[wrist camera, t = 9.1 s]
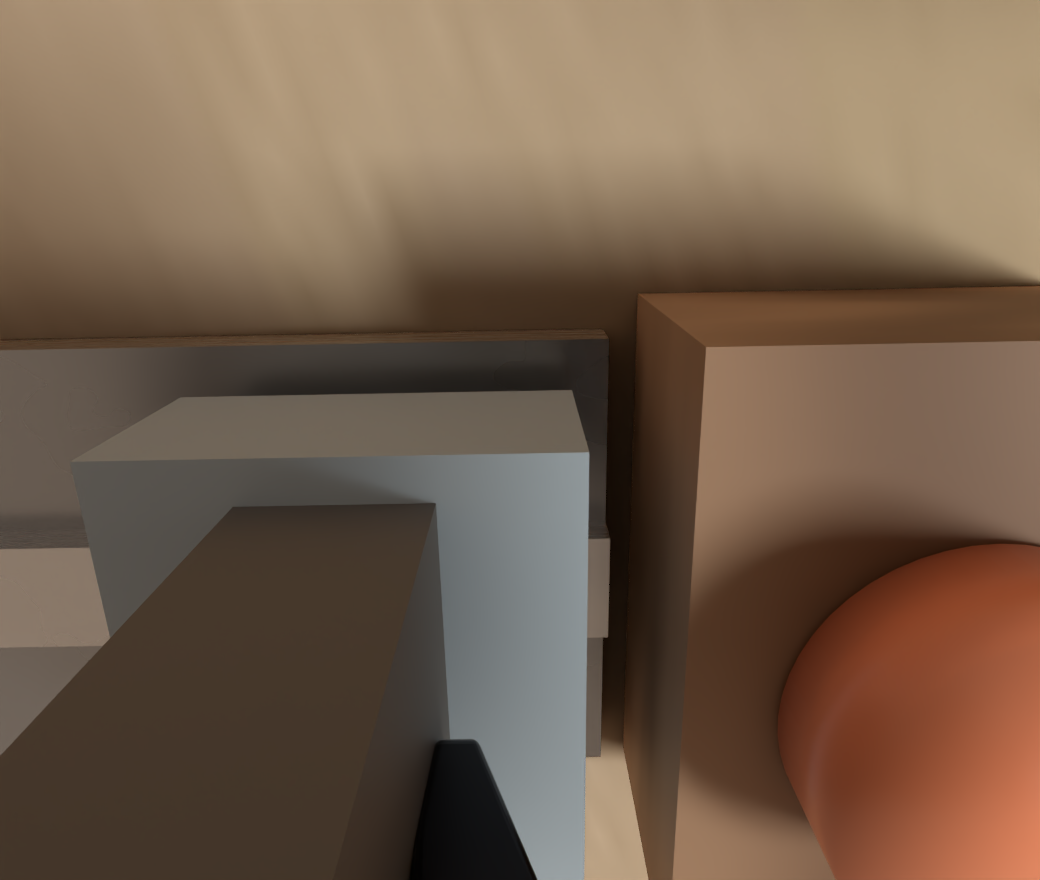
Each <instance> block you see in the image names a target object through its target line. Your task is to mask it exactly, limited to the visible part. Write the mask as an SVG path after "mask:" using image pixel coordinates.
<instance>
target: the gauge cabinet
mask: <svg viewBox="0 0 1040 880" xmlns="http://www.w3.org/2000/svg"><path fill="white" fill-rule="evenodd" d="M989 544H1019V545H1030V546H1036V547H1040V286H1013V287H960V288H908V289H856V290H804V291H751V292H699V293H647V294H638V304H637V335H636V366H635V397H634V428H633V459H632V490H631V520H630V551H629V582H628V613H627V644H626V675H625V706H624V737H623V748H624V753H625V758H626V763H627V769H628V774H629V779H630V784H631V790H632V795H633V800H634V805H635V810H636V816H637V821H638V826H639V831H640V837H641V842H642V847H643V852H644V858H645V863H646V868H647V873H648V878H649V880H836V879H835V877H834V875H833V873H832V871H831V868H830V866H829V864H828V862H827V860H826V858H825V856H824V853H823V851H822V849H821V847H820V845H819V843H818V841H817V838H816V836H815V834H814V832H813V830H812V828H811V826H810V823H809V821H808V819H807V817H806V815H805V813H804V811H803V808H802V806H801V804H800V802H799V800H798V798H797V796H796V793H795V791H794V789H793V787H792V785H791V783H790V781H789V778H788V776H787V774H786V772H785V769H784V766H783V762H782V759H781V756H780V751H779V743H778V735H777V733H778V713H779V708H780V702H781V697H782V693H783V690H784V687H785V685H786V682H787V679H788V676H789V673H790V671H791V670H792V668H793V666H794V664H795V662H796V660H797V658H798V656H799V654H800V652H801V651H802V650H803V648H804V647H805V645H806V644H807V642H808V641H809V639H810V638H811V637H812V635H813V634H814V633H815V632H816V630H817V629H818V628H819V627H820V626H821V625H822V624H823V623H824V621H825V620H826V619H827V618H828V617H829V616H830V615H831V614H832V613H833V612H834V611H835V610H836V609H838V608H839V607H840V606H841V605H842V604H843V603H844V602H845V601H847V600H848V599H849V598H850V597H852V596H853V595H854V594H856V593H857V592H859V591H860V590H861V589H863V588H864V587H866V586H867V585H868V584H870V583H871V582H873V581H875V580H877V579H879V578H880V577H882V576H884V575H886V574H888V573H889V572H891V571H893V570H895V569H897V568H900V567H902V566H904V565H907V564H909V563H911V562H914V561H916V560H918V559H921V558H924V557H928V556H931V555H934V554H937V553H941V552H944V551H948V550H953V549H958V548H964V547H969V546H976V545H989Z"/></svg>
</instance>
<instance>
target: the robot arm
mask: <svg viewBox="0 0 1040 880" xmlns="http://www.w3.org/2000/svg"><path fill="white" fill-rule="evenodd" d="M412 880H538V879H537V877H536V875H535V872H534V870H533V868H532V865H531V863H530V861H529V858H528V856H527V854H526V851H525V849H524V847H523V844H522V842H521V840H520V837H519V835H518V833H517V830H516V828H515V826H514V823H513V821H512V818H511V816H510V814H509V811H508V809H507V807H506V804H505V802H504V800H503V797H502V795H501V793H500V790H499V788H498V786H497V783H496V781H495V779H494V776H493V774H492V772H491V769H490V767H489V765H488V762H487V760H486V758H485V755H484V753H483V751H482V748H481V746H480V744H479V743H478V742H477V741H476V740H474V739H443V740H439V741H438V742H437V743H436V745H435V747H434V752H433V757H432V761H431V766H430V771H429V775H428V780H427V785H426V789H425V794H424V799H423V804H422V808H421V813H420V818H419V822H418V827H417V832H416V838H415V843H414V852H413V867H412Z"/></svg>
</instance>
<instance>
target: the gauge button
mask: <svg viewBox="0 0 1040 880" xmlns="http://www.w3.org/2000/svg"><path fill="white" fill-rule="evenodd" d="M777 735H778V743H779V751H780V756H781V759H782V762H783V766H784V769H785V772H786V774H787V776H788V778H789V781H790V783H791V785H792V787H793V789H794V791H795V793H796V796H797V798H798V800H799V802H800V804H801V806H802V808H803V811H804V813H805V815H806V817H807V819H808V821H809V823H810V826H811V828H812V830H813V832H814V834H815V836H816V838H817V841H818V843H819V845H820V847H821V849H822V851H823V853H824V856H825V858H826V860H827V862H828V864H829V866H830V868H831V871H832V873H833V875H834V877H835V879H836V880H1040V547H1036V546H1030V545H1019V544H989V545H976V546H969V547H964V548H958V549H953V550H948V551H944V552H941V553H937V554H934V555H931V556H928V557H924V558H921V559H918V560H916V561H914V562H911V563H909V564H907V565H904V566H902V567H900V568H897V569H895V570H893V571H891V572H889V573H888V574H886V575H884V576H882V577H880V578H879V579H877V580H875V581H873V582H871V583H870V584H868V585H867V586H866V587H864V588H863V589H861V590H860V591H859V592H857V593H856V594H854V595H853V596H852V597H850V598H849V599H848V600H847V601H845V602H844V603H843V604H842V605H841V606H840V607H839V608H838V609H836V610H835V611H834V612H833V613H832V614H831V615H830V616H829V617H828V618H827V619H826V620H825V621H824V623H823V624H822V625H821V626H820V627H819V628H818V629H817V630H816V632H815V633H814V634H813V635H812V637H811V638H810V639H809V641H808V642H807V644H806V645H805V647H804V648H803V650H802V651H801V652H800V654H799V656H798V658H797V660H796V662H795V664H794V666H793V668H792V670H791V671H790V673H789V676H788V679H787V682H786V685H785V687H784V690H783V693H782V697H781V702H780V708H779V713H778V733H777Z"/></svg>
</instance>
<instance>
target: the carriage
mask: <svg viewBox="0 0 1040 880" xmlns="http://www.w3.org/2000/svg"><path fill="white" fill-rule="evenodd" d="M70 465H71V469H72V473H73V478H74V482H75V487H76V491H77V495H78V500H79V504H80V508H81V513H82V517H83V521H84V526H85V530H86V535H87V539H88V543H89V548H90V552H91V556H92V561H93V565H94V569H95V574H96V578H97V583H98V587H99V591H100V596H101V600H102V604H103V609H104V613H105V617H106V622H107V626H108V631H109V635H110V639H109V640H108V641H107V642H106V643H105V644H104V645H103V646H102V647H101V648H100V649H99V651H98V652H97V653H96V654H95V655H94V656H93V657H92V658H91V659H90V660H89V661H88V662H87V663H86V664H85V666H84V667H83V668H82V669H81V670H80V671H79V672H78V673H77V674H76V675H75V676H74V677H73V678H72V679H71V681H70V682H69V683H68V684H67V685H66V686H65V687H64V688H63V689H62V690H61V691H60V692H59V693H58V694H57V695H56V697H55V698H54V699H53V700H52V701H51V702H50V703H49V704H48V705H47V706H46V707H45V708H44V709H43V710H42V712H41V713H40V714H39V715H38V716H37V717H36V718H35V719H34V720H33V721H32V722H31V723H30V724H29V725H28V727H27V728H26V729H25V730H24V731H23V732H22V733H21V734H20V735H19V736H18V737H17V738H16V739H15V740H14V742H13V743H12V744H11V745H10V746H9V747H8V748H7V749H6V750H5V751H4V752H3V753H2V754H1V755H0V880H412V867H413V852H414V843H415V838H416V832H417V827H418V822H419V818H420V813H421V808H422V804H423V799H424V794H425V789H426V785H427V780H428V775H429V771H430V766H431V761H432V757H433V752H434V747H435V745H436V743H437V742H438V741H439V740H443V739H474V740H476V741H477V742H478V743H479V744H480V746H481V748H482V751H483V753H484V755H485V758H486V760H487V762H488V765H489V767H490V769H491V772H492V774H493V776H494V779H495V781H496V783H497V786H498V788H499V790H500V793H501V795H502V797H503V800H504V802H505V804H506V807H507V809H508V811H509V814H510V816H511V818H512V821H513V823H514V826H515V828H516V830H517V833H518V835H519V837H520V840H521V842H522V844H523V847H524V849H525V851H526V854H527V856H528V858H529V861H530V863H531V865H532V868H533V870H534V872H535V875H536V877H537V879H538V880H584V845H585V763H586V682H587V600H588V518H589V450H588V446H587V442H586V439H585V435H584V432H583V428H582V424H581V421H580V417H579V414H578V410H577V407H576V403H575V399H574V396H573V392H572V390H547V391H493V392H439V393H385V394H331V395H277V396H223V397H180V398H179V399H177V400H175V401H173V402H172V403H170V404H168V405H167V406H165V407H163V408H161V409H160V410H158V411H156V412H155V413H153V414H151V415H149V416H148V417H146V418H144V419H143V420H141V421H139V422H137V423H136V424H134V425H132V426H131V427H129V428H127V429H125V430H124V431H122V432H120V433H118V434H117V435H115V436H113V437H112V438H110V439H108V440H106V441H105V442H103V443H101V444H100V445H98V446H96V447H94V448H93V449H91V450H89V451H88V452H86V453H84V454H82V455H81V456H79V457H77V458H76V459H74V460H72V461H70Z"/></svg>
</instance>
